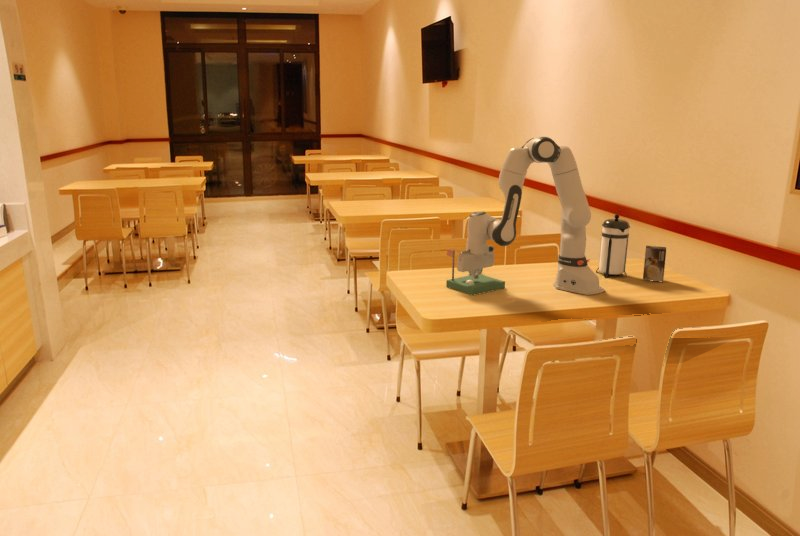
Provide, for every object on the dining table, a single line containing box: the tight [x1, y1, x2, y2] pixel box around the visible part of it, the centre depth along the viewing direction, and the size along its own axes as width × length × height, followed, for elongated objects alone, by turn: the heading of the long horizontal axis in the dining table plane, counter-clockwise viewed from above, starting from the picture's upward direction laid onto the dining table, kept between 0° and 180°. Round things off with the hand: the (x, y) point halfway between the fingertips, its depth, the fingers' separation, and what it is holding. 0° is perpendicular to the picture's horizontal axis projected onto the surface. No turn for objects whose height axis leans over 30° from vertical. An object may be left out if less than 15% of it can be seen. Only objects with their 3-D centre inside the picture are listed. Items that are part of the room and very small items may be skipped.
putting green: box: [445, 248, 506, 296], centre depth 277 cm, size 19×20×17 cm
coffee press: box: [595, 214, 631, 279], centre depth 301 cm, size 17×16×30 cm
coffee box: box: [642, 245, 667, 282], centre depth 292 cm, size 9×6×16 cm
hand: (475, 278), depth 277 cm, fingers closed
